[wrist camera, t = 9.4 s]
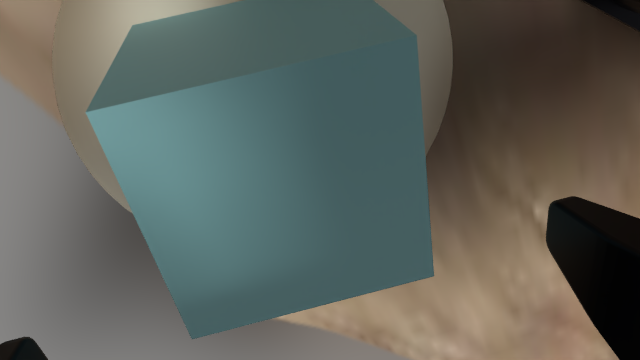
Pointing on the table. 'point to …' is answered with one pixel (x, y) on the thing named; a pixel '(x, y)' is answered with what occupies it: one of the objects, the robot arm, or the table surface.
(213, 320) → the teal block
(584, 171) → the table surface
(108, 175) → the birch riser
